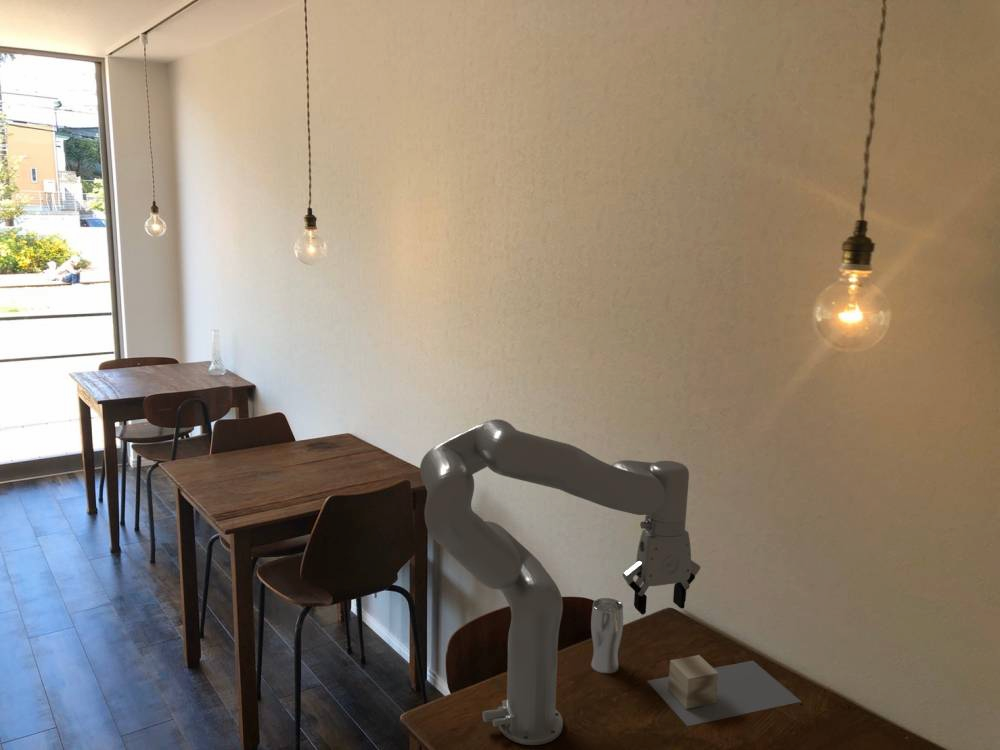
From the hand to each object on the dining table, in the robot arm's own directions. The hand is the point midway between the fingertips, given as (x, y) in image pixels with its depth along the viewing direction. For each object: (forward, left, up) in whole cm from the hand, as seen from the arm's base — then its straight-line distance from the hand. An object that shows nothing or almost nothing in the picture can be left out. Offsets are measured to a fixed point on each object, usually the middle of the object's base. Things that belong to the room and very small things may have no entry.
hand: (659, 607), depth 154 cm
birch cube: (+9, 0, -21) cm, 23 cm away
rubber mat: (+17, 0, -22) cm, 27 cm away
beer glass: (-3, +16, -22) cm, 27 cm away
